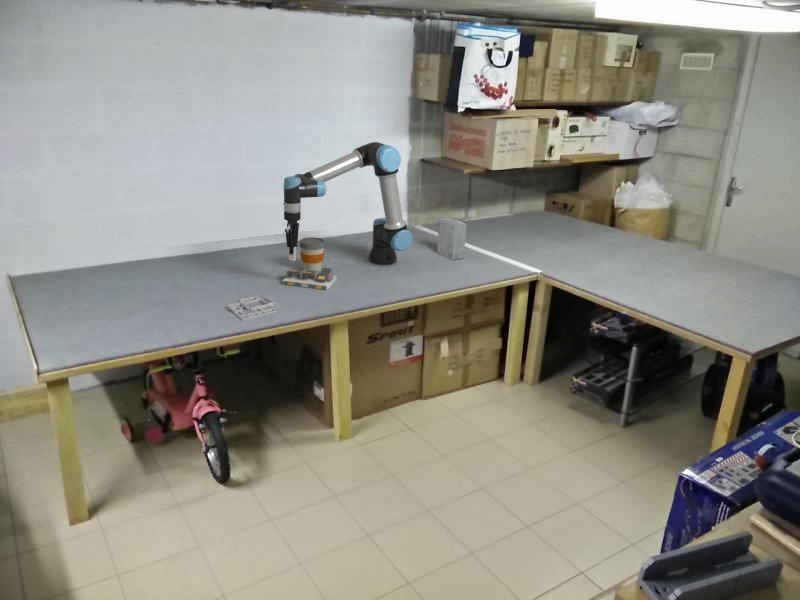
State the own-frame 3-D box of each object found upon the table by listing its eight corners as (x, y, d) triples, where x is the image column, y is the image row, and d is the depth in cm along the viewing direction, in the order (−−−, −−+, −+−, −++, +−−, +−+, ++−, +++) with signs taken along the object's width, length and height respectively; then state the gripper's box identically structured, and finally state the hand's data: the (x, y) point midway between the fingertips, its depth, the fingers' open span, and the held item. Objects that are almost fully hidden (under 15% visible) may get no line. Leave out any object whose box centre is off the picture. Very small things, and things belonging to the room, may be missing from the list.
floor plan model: (256, 293, 285) (256, 289, 285) (283, 311, 268) (283, 307, 267) (217, 301, 274) (217, 297, 273) (242, 321, 256) (242, 317, 256)
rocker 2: (332, 270, 302) (331, 268, 301) (325, 282, 294) (325, 280, 293) (322, 269, 303) (321, 267, 302) (315, 281, 295) (315, 278, 294)
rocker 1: (304, 272, 305) (304, 269, 305) (297, 274, 295) (297, 271, 295) (294, 270, 306) (294, 268, 305) (287, 273, 296) (287, 270, 296)
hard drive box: (464, 258, 346) (467, 224, 339) (453, 260, 342) (456, 225, 335) (446, 251, 358) (449, 217, 351) (436, 252, 354) (438, 218, 347)
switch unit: (336, 279, 306) (336, 269, 304) (326, 290, 292) (326, 280, 290) (293, 274, 310) (293, 264, 308) (282, 284, 295) (282, 274, 294)
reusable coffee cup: (322, 264, 325) (323, 236, 320) (326, 272, 314) (326, 244, 308) (298, 265, 322) (298, 237, 317) (301, 273, 311) (300, 244, 305)
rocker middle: (318, 273, 304) (318, 270, 303) (311, 276, 294) (311, 273, 294) (308, 272, 305) (308, 269, 304) (301, 275, 295) (301, 272, 295)
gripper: (289, 207, 292) (289, 255, 300) (279, 213, 280) (279, 263, 288) (304, 208, 290) (304, 257, 299) (295, 215, 279) (295, 265, 287)
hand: (292, 260), depth 294 cm, fingers closed
